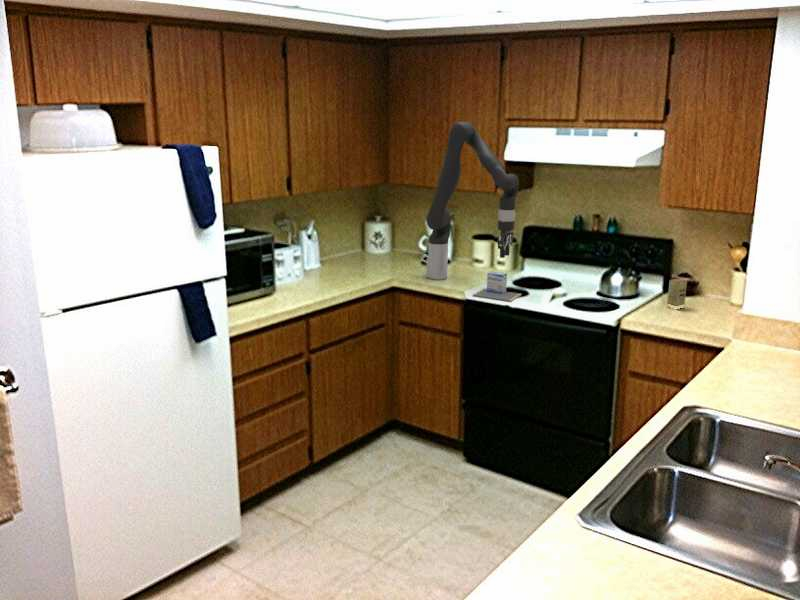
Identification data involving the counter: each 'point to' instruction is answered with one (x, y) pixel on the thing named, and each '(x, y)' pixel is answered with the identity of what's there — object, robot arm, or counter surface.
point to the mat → (497, 295)
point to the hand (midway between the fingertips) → (504, 256)
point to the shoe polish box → (677, 292)
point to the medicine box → (496, 282)
